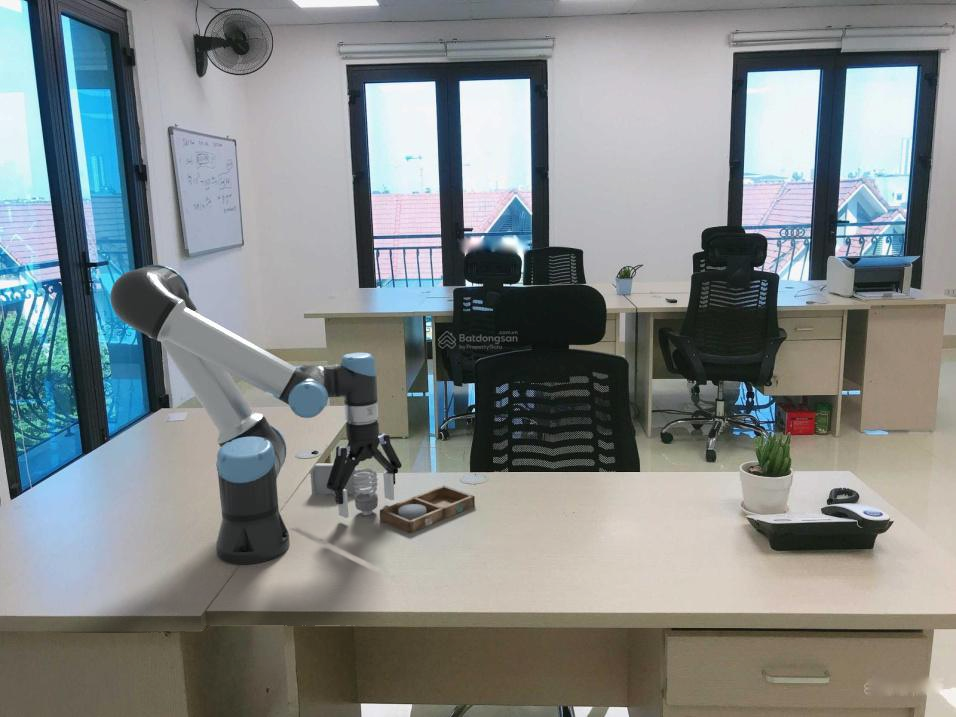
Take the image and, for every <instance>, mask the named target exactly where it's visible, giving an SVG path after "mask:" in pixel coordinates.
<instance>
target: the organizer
mask: <svg viewBox="0 0 956 717" xmlns="http://www.w3.org/2000/svg"><path fill="white" fill-rule="evenodd" d="M475 502H476V500H475V495H473V494H470V493H467V492H463V491H461V490H458V489H456V488H452V487H449V486H447V485H441V486H438V487H435V488H433V489H431V490H428V491H425V492H424V493H420V494H418V495H415V496H412V497H410V498H407V499H404V500H402V501H399V502H397V503H394V504H392V505H390V506H387V507H384V508H382V509H379V521H381V522H383V523H385V524H387V525H389V526H393V527H395V528H396V529H399V530H402V531H404V532H407V533H409V534H413V533H415V532H417V531H420V530H422V529H424V528H426V527H429V526H431V525H434V524H436V523H439V522H441V521H443V520H445V519H448V518H450V517H453V516H455V515H457V514H459V513H462V512H464V511H466V510H468V509H472V508H474V507H475V504H476V503H475ZM409 504H419V505H423V506H425V507H426V514H425V515H422V516H420V517H418V518H415V519H413V520H408V519H406V518H403V517H401V516H399V514H398V510H399V508H400V507H402V506H405V505H409Z"/></svg>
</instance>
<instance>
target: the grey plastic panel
mask: <svg viewBox="0 0 956 717" xmlns="http://www.w3.org/2000/svg"><path fill="white" fill-rule="evenodd" d="M333 464H334V462H332V463H328V462H326V463H324V462H323V463H321V462H319V463H318V462H317V463H316V464H314V466H312V467H311V468H310V471H309V472H310V483H311V484H310V486H311V494H312V495H318V494H324V495H325V494H326V495H329V494H331V495H332V494H333V495H335V491H333V490H330V489H328V488H327V487H326V486H327V483H328V479H329V476H330V473H331V470H332V467H333ZM357 469H359V468H358V467H357V466H356V467H355V469H354V471H353V473H352V475H351V476H350V478H349V480H348V482H347V484H346V486H345V488H344V489H345V490H347V495H352V496H356V495H357V494H358V493H357V492H355V487H354V484H355V483H354V482H353V480H354V479H355V478H354V477H353V476H354V474H357Z"/></svg>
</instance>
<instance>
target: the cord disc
mask: <svg viewBox="0 0 956 717" xmlns="http://www.w3.org/2000/svg"><path fill="white" fill-rule="evenodd" d="M398 514H399V516H401V517H403V518H406V519H408V520H413V519H415V518H418V517H420V516H422V515H425V514H426V507H425V506H423V505H419V504H409V505H405V506H402V507H400V508H399V510H398Z"/></svg>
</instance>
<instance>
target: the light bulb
mask: <svg viewBox="0 0 956 717" xmlns="http://www.w3.org/2000/svg"><path fill="white" fill-rule="evenodd" d="M377 476H378V475H377V472H376V471H375V470H374V469H372V468H368V467H366V468H358V469H357V474H354V476H353V477H354V478H355V479H354V480H353V482H354V483H355V484H354V487H355V492H357V493H358V494H357V495H354V504H355V508H356V510H358V511H360V512H361V514H362V515H363V516H370V515H372V514H373V511H374V510H376V509H377V507H378V504H379V497H378V493H376V492H377V490H378V477H377Z"/></svg>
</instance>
